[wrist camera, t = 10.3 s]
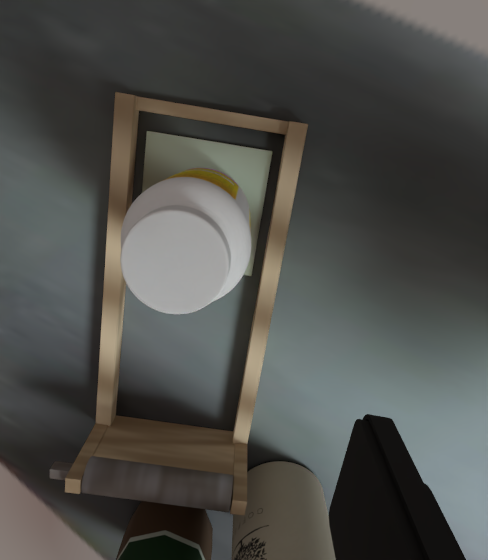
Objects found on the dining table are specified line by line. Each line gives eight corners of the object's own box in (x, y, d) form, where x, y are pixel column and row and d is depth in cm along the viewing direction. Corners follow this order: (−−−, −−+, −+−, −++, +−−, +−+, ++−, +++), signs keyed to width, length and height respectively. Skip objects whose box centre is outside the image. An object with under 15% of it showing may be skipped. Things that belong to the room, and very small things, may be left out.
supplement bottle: (141, 188, 30) (66, 219, 17) (228, 151, 29) (214, 156, 17) (181, 273, 31) (138, 355, 19) (264, 240, 31) (275, 304, 18)
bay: (100, 91, 28) (51, 72, 21) (305, 125, 29) (323, 118, 22) (84, 427, 36) (44, 496, 29) (244, 449, 37) (243, 522, 29)
